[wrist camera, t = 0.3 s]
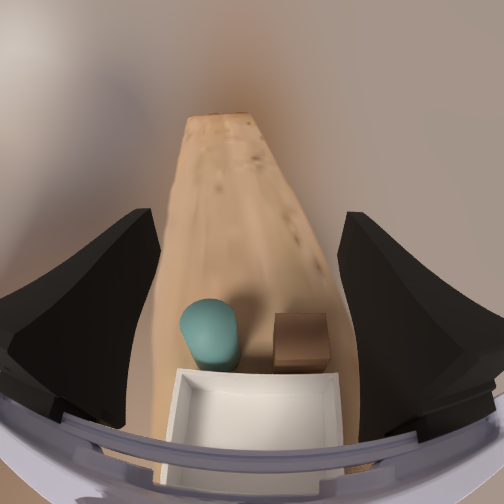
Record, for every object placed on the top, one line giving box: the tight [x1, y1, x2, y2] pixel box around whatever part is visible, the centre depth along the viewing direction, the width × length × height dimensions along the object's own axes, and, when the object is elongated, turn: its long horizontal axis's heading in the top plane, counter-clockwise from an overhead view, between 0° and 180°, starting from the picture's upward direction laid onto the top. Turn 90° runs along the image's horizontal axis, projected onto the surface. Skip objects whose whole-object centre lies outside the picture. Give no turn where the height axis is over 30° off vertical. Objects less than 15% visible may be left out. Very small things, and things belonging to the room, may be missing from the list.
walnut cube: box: [273, 313, 331, 374], centre depth 26 cm, size 5×5×5 cm
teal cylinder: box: [180, 299, 240, 373], centre depth 26 cm, size 5×5×7 cm
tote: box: [160, 368, 344, 494], centre depth 19 cm, size 12×14×5 cm
